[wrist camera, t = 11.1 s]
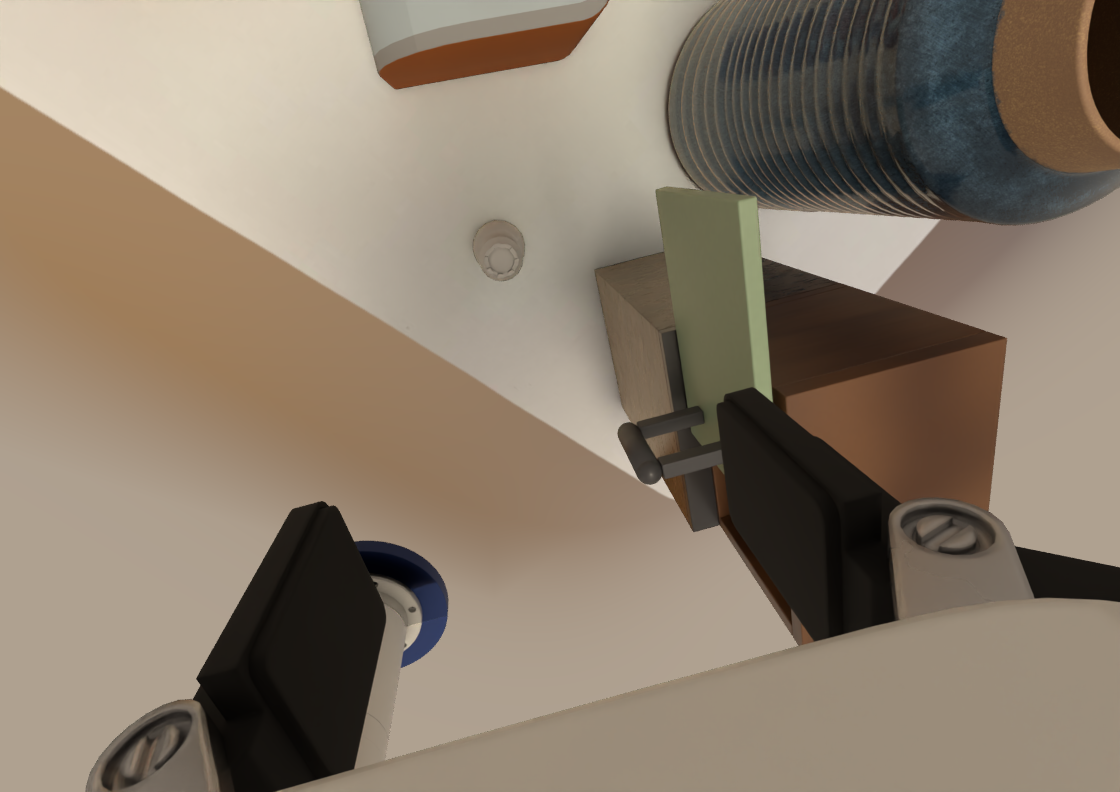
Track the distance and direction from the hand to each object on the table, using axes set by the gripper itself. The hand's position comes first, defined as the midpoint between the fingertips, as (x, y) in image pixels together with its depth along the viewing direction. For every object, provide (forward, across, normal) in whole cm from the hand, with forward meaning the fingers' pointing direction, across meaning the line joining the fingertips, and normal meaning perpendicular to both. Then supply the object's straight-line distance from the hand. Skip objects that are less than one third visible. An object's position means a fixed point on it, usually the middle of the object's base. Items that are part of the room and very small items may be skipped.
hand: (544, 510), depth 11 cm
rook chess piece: (+40, 0, 0) cm, 40 cm away
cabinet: (+40, -13, +11) cm, 43 cm away
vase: (+40, -24, -6) cm, 47 cm away
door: (+19, -6, +4) cm, 20 cm away
